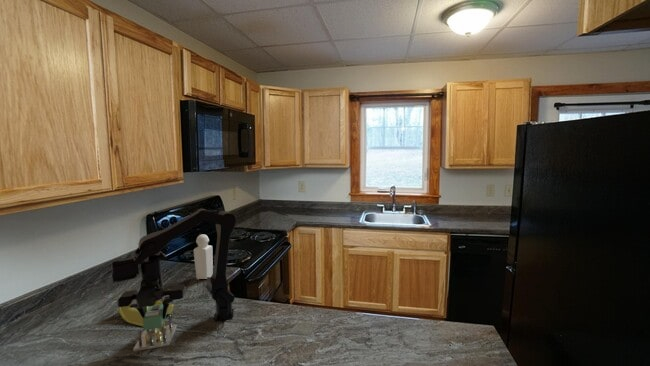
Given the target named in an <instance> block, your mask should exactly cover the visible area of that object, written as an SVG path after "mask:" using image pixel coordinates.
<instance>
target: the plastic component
mask: <svg viewBox="0 0 650 366" xmlns="http://www.w3.org/2000/svg"><path fill="white" fill-rule="evenodd" d="M119 298H120V296H118V298H117V300H118V299H119ZM162 302H163V301H160V300H158V301H156V303H155V305H161V304H163V303H162ZM130 305H131V304H130ZM130 305H129V306H125V307H118V306H117V308H118V312H119V314H120V316H121V318H122V319H123V320H124V321H125V322H127V323H129V324H132V325H137V326H140V327H143V328H144V326H143V318H142V316H141V314H140V313H139V311H138V310H137V309H136V308H130ZM155 305H153V306H155ZM174 307H175V305H174V304H172V303H170V304H169V307H168V311H167V315H172V313H173V309H174ZM148 308H149V306H147V310H148Z"/></svg>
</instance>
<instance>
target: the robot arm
mask: <svg viewBox="0 0 650 366" xmlns="http://www.w3.org/2000/svg"><path fill="white" fill-rule="evenodd" d="M203 222H208V223H212V224H214V225H215V230H216V235H217V238H216V244H215V245H216V247H215V254H214V255H215V256H214V263H213V274H212V276H211V277H207V280H206V286H205V288H206V290H207V293H208V294H209V295H210V297H211V298H212V300H214V301H215V316H214V321H215V322H216V321H217V322H218V321H223V320H224V321H225V320H230V319H233V318H234V311H235V310H234V309H235V308H233V303H234V302H235V301H234V300H235V297H236V296H235V295H234V294H233V293H232V292H231V291H230V290H229V285H228V279H227V274H226V273H227V265H228V257H229V248H230V240H231V236H232V233H233V232H234V230H235V226H236V224H237V217H236V216H235V215H234V214H233V213H231V212H229V211H227V210H221V211H219V212H218V211H215V210H209V209H205V208H199V209H197V210H196V211H195V212H192V213H191V214H189V215H187V216H185V217H183V218H182V219H180V220H178V221H177V222H175V223H173V224H172V225H169V226H168V227H166V228H164V229H161V230H158V231H154V232H151V233H149V234H146V235H144V236H142V237H141V238H140V239H139V242H138V245H137V248H136V250H135V251H134V252H133V254H132V256H131V257H126V258H122V259H113V260H112V263H111V264H112V269H111V270H112V271H111V272H112V276H111V277H112V283H113V284H116V283H120V282H125V281H128V280H134V279H136V277H138V275H139V274H140V276H141V281H140V287H139V290H137V289H134V290H125V291H124V292H123V293H122V294H121V295H120V296H119V297H120V298H119V297H118V298H119V299H118V298H117V308H118V307H125V306H129V305H130V304H131V305H130V308H136V309H137V310H138V311H139V313H140V314H141V316H142V318H143V317H144V316H145V314H146V312H147V306H153V305H155V303H156V301H160V300H162V299H163V298H164V299H163V301H161V302H162V303H163V319H165V320H166V318H165V317H167V315H168V314H167V311H168V307H169V304H171V303H173V302H174V301H176V300H182V299H183V298H184V297H185V294H186V292H187V288H186V285H185V284H181V283H180V284H175V285H174V284H173V285H172V286H171V288H169V289H168V288H167V289H164V284H163V275H164V273H163V272H162V261H163V260H168V256H167V254H165V253H163V251H162V250H163V249H164V248H166V246H168V244H170V242H171V241H173V240H174V239H176V238H177V237H180V236H181V235H183V234H184V233H186V232H188V231H190V230H191V229H193V228H195V227H197V226H198V225H200V224H202V223H203ZM139 265H140V271H139ZM166 314H167V315H166Z"/></svg>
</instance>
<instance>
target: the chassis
mask: <svg viewBox="0 0 650 366" xmlns="http://www.w3.org/2000/svg"><path fill="white" fill-rule="evenodd" d="M172 323H173V321H172V314H168V325H167V323H166V321H164V323H163V325H162V327H161V328H156V329H150V330H145V331H144V330H143V332H142V330H138V331H137V337H138V340H137V342H136V343H135V345H134V347H133V348H132V351H133V352H138V351H143V350H150V349H156V348H162V347H168V346H170V343H171V341H172V339H173V336H174V334H175V331H176V329H177V327H178V326H177V324H172Z"/></svg>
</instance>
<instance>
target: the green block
mask: <svg viewBox="0 0 650 366" xmlns="http://www.w3.org/2000/svg"><path fill="white" fill-rule="evenodd" d="M167 315H168V314H166V317H167ZM166 317H165V319H163V304H161V305H155V306H149V308H148V310H147V312H146V314H145V316H144V317H143V326H144V327H143V326H142V327H143V331H145V330H150V329H156V328H161V327H162V325H163V323H164V322H165V320H166Z"/></svg>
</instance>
